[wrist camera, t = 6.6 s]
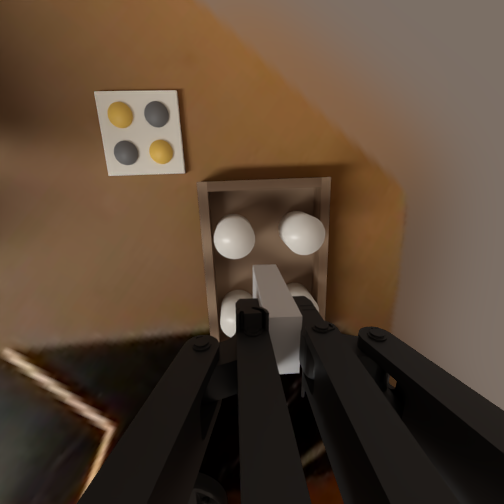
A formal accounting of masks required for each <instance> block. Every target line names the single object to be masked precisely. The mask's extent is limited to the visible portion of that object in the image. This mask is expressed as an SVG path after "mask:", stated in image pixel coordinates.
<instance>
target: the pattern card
mask: <svg viewBox="0 0 504 504" xmlns="http://www.w3.org/2000/svg"><path fill="white" fill-rule="evenodd" d="M94 95H95V100H96V106H97V112H98V117H99V123H100V129H101V135H102V140H103V146H104V152H105V157H106V163H107V169H108V174H109V176H122V175H150V174H178V173H185V163H184V153H183V143H182V133H181V123H180V113H179V103H178V93H177V91H176V90H157V91H94Z"/></svg>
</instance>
